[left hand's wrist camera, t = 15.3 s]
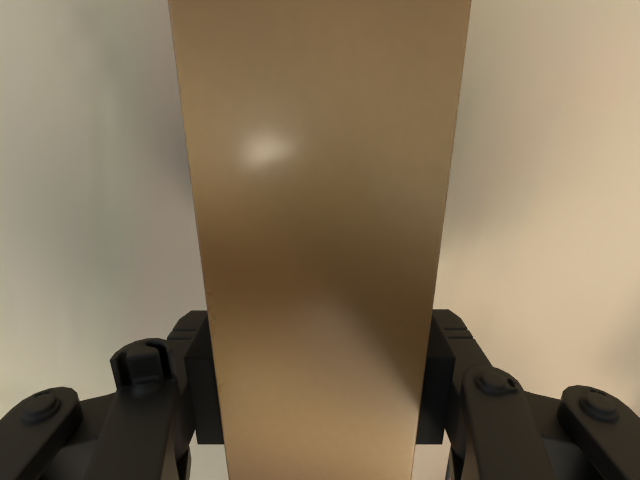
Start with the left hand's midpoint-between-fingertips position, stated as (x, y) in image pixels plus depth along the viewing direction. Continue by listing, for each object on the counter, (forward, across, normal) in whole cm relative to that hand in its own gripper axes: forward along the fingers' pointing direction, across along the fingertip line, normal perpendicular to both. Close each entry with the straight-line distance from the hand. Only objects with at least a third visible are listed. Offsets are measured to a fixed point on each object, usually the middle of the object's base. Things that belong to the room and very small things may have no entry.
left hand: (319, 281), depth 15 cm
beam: (+1, 0, -24) cm, 24 cm away
